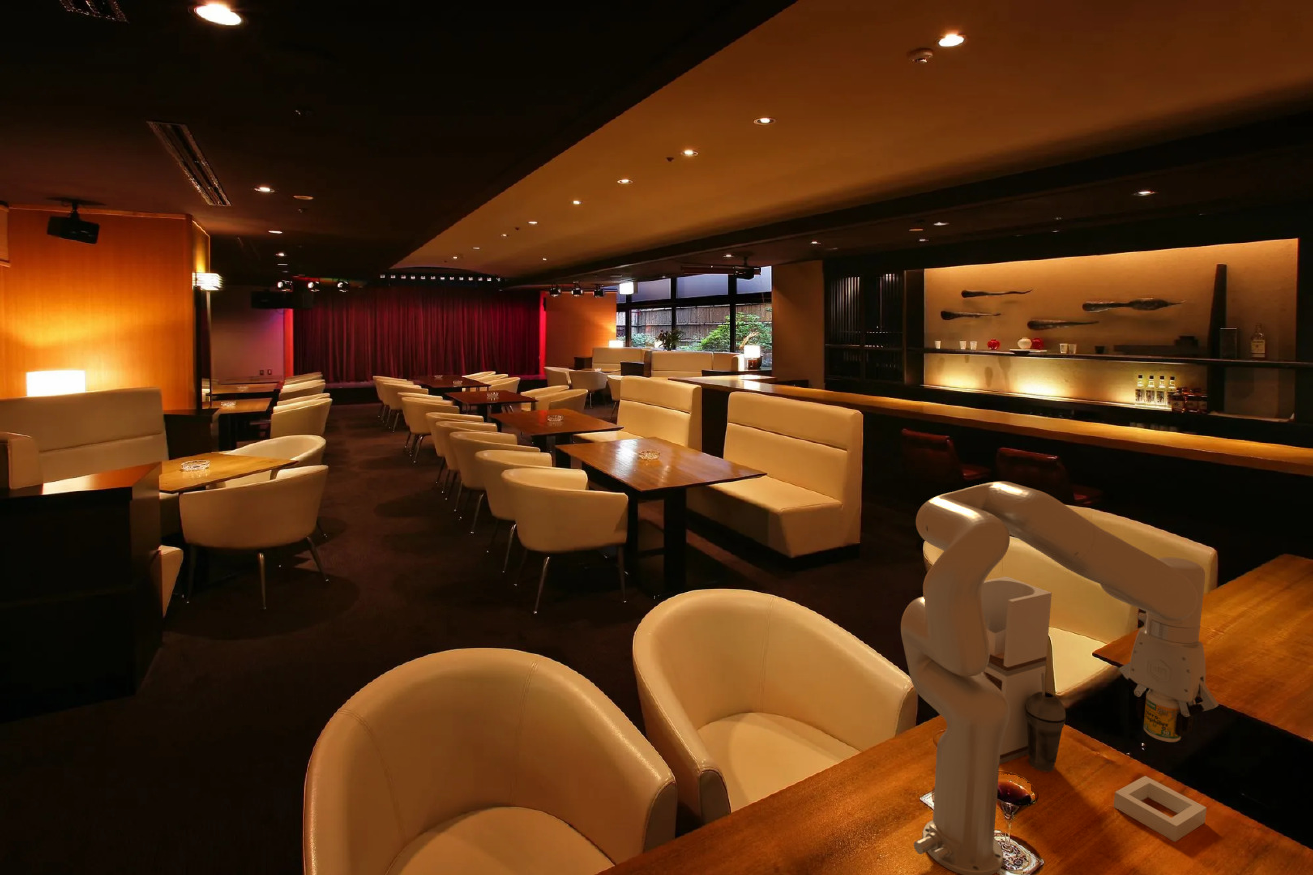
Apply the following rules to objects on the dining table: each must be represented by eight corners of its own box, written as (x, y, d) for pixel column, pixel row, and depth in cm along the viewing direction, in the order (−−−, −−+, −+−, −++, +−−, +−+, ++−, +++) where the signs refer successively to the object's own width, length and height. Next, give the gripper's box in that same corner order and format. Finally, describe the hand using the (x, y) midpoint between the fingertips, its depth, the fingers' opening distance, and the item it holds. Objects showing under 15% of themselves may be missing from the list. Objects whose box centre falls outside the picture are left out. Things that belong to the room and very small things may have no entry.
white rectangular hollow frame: (1174, 841, 116) (1176, 826, 115) (1113, 806, 125) (1115, 791, 124) (1204, 822, 120) (1206, 807, 120) (1143, 789, 129) (1145, 775, 129)
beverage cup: (1069, 776, 133) (1078, 682, 130) (1032, 776, 133) (1040, 682, 131) (1049, 754, 140) (1056, 664, 138) (1014, 753, 141) (1020, 664, 138)
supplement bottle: (1187, 737, 119) (1192, 687, 117) (1169, 746, 116) (1174, 694, 115) (1154, 722, 124) (1158, 673, 122) (1136, 730, 121) (1140, 680, 120)
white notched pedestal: (996, 724, 151) (1006, 576, 146) (1038, 750, 142) (1051, 592, 137) (958, 736, 147) (968, 583, 142) (1000, 763, 137) (1012, 601, 132)
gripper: (1107, 616, 123) (1100, 707, 126) (1219, 653, 108) (1208, 757, 111) (1130, 607, 126) (1123, 697, 129) (1242, 643, 111) (1231, 743, 114)
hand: (1162, 723), depth 120 cm, fingers closed on supplement bottle, 5 cm apart
